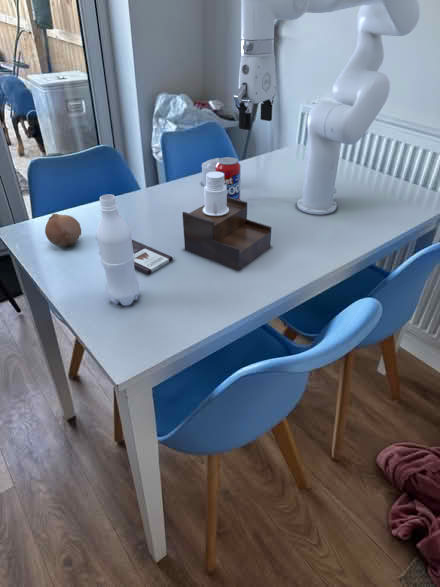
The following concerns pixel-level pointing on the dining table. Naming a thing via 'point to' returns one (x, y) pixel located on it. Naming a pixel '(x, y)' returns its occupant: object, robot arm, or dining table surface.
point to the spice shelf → (226, 235)
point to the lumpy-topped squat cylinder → (208, 168)
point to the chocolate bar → (148, 258)
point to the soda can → (230, 175)
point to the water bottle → (116, 253)
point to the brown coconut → (62, 230)
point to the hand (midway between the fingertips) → (255, 124)
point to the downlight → (215, 194)
